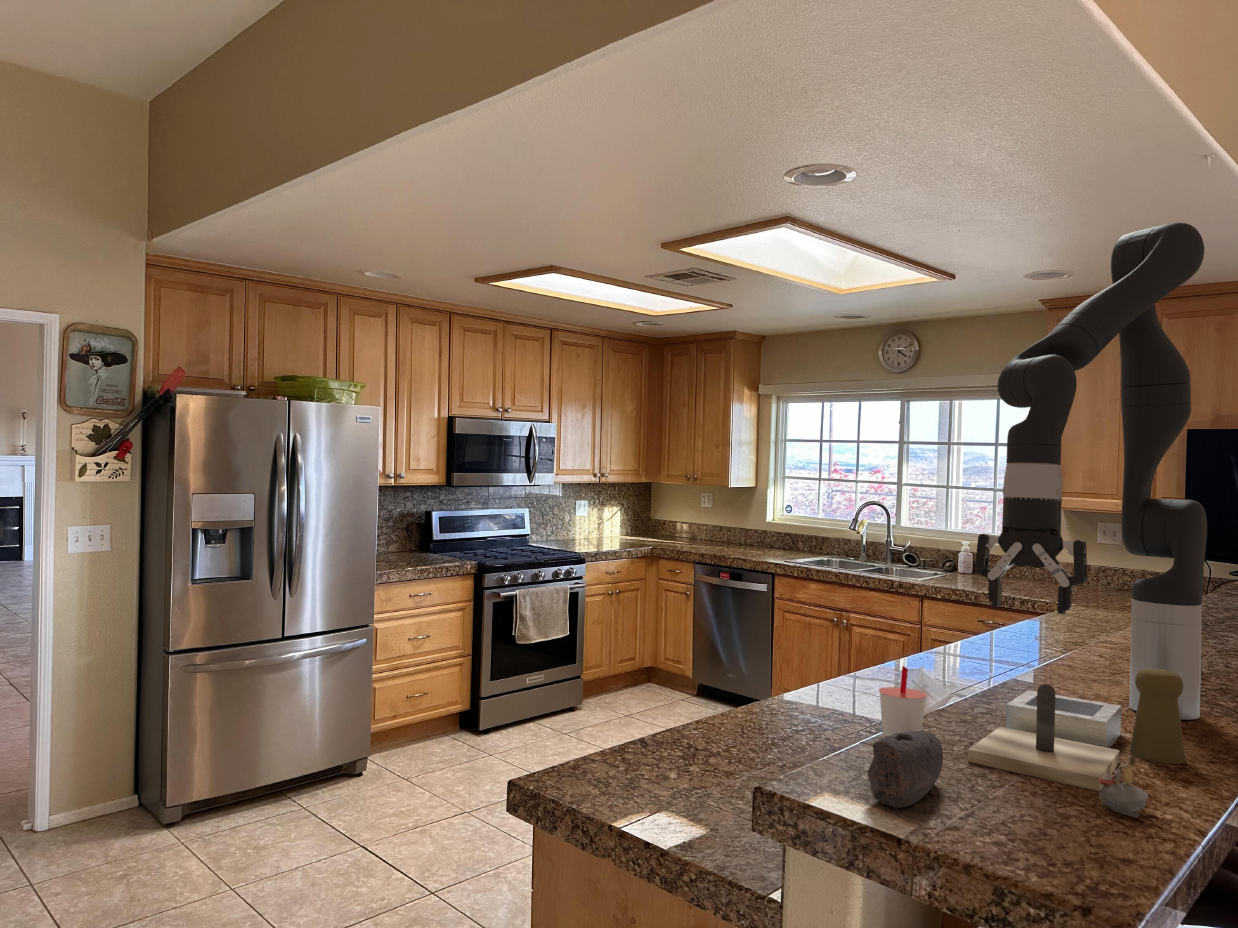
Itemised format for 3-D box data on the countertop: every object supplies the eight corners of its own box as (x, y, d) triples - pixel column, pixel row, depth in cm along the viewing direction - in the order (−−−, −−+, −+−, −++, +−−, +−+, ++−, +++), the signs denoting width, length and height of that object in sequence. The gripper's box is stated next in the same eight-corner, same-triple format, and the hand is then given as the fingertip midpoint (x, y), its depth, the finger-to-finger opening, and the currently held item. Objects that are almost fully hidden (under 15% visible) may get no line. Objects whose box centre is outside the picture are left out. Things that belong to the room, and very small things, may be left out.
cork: (1194, 765, 104) (1196, 676, 105) (1140, 760, 105) (1142, 672, 106) (1172, 751, 110) (1174, 666, 110) (1122, 746, 111) (1124, 663, 112)
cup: (921, 764, 100) (924, 663, 101) (927, 779, 95) (930, 672, 96) (874, 759, 102) (877, 659, 102) (878, 773, 96) (881, 668, 97)
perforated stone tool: (914, 774, 97) (916, 713, 97) (960, 786, 93) (962, 723, 94) (854, 807, 86) (856, 738, 86) (904, 822, 82) (906, 750, 83)
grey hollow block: (1027, 717, 125) (1028, 689, 125) (1120, 734, 117) (1121, 705, 117) (1005, 733, 115) (1006, 704, 116) (1105, 753, 108) (1106, 722, 108)
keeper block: (999, 737, 113) (1001, 666, 113) (1119, 762, 104) (1121, 685, 105) (968, 761, 102) (970, 682, 103) (1098, 790, 93) (1100, 704, 94)
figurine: (1145, 824, 84) (1146, 764, 84) (1094, 813, 87) (1096, 754, 87) (1150, 809, 88) (1151, 752, 89) (1102, 799, 91) (1103, 743, 91)
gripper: (1093, 499, 119) (1089, 614, 118) (986, 495, 128) (982, 602, 127) (1083, 497, 113) (1079, 618, 112) (972, 493, 122) (968, 605, 121)
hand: (1028, 609), depth 120 cm, fingers open, 8 cm apart
